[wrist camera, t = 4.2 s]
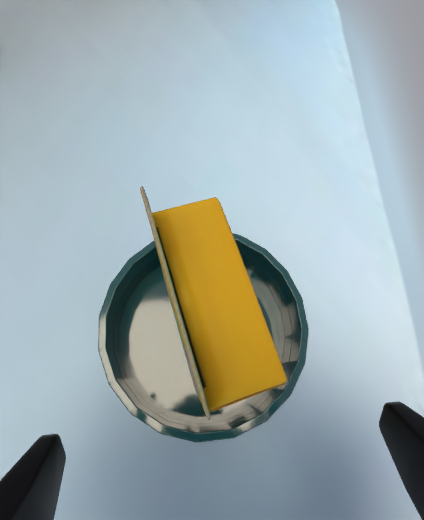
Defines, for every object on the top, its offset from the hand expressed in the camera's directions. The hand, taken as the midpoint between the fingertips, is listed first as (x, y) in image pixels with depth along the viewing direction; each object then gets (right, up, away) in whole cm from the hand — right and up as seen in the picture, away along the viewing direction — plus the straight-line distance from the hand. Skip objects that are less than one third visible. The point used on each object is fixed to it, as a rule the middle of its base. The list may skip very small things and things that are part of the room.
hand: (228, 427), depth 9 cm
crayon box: (-1, 0, +11) cm, 12 cm away
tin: (-1, 0, +12) cm, 12 cm away
